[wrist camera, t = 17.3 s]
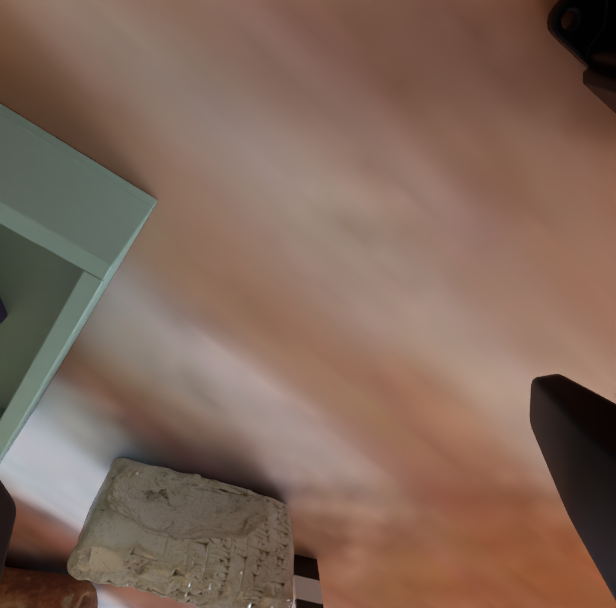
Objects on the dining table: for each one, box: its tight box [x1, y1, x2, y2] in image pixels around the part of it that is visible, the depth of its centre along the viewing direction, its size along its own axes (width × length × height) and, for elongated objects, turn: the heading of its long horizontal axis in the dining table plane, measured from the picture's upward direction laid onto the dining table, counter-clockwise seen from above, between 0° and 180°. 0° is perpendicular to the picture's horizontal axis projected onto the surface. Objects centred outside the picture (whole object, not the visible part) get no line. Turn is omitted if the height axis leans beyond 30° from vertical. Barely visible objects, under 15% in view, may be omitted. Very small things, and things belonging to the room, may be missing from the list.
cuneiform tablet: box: [67, 458, 323, 608], centre depth 24 cm, size 7×4×12 cm
